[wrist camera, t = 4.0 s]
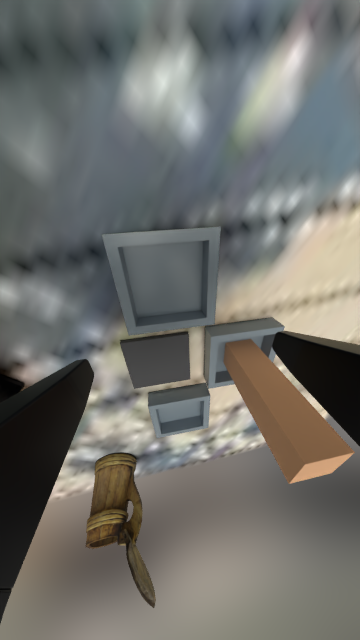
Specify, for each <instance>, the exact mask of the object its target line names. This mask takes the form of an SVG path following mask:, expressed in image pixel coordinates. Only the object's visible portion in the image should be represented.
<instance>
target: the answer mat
mask: <svg viewBox="0 0 360 640" xmlns="http://www.w3.org/2000/svg"><path fill="white" fill-rule="evenodd" d="M120 345H121V348H122V351H123V354H124V358H125V361H126V364H127V367H128V370H129V374H130V377H131V380H132V383H133V386H134V389H135V388H141V387H147V386H153V385H159V384H165V383H171V382H176V381H182V380H188V379H190V360H189V334H188V332H182V333H174V334H167V335H160V336H152V337H145V338H138V339H130V340H123V341H121V342H120Z"/></svg>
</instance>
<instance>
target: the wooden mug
mask: <svg viewBox="0 0 360 640" xmlns="http://www.w3.org/2000/svg"><path fill="white" fill-rule="evenodd" d="M136 462H137V461H136V459H135V458H134V456H132V455H130V454H126V453H117V454H110V455H107V456H104V457H102V458H101V459H99V460H98V461H97V462H96V465H95V483H94V491H93V498H92V506H91V513H90V518H89V519H88V521H87V531H86V532H87V541H86V547H88V548H92V549H94V548H99V547H103V546H107V545H110V544H113V543H115V542H118V545H126V551H127V553H126V555H127V560H128V564H129V567H130V570H131V573H132V576H133V579H134V581H135V584H136V586H137V588H138V590H139V591H140V593H141V595H142V597H143V598H144V599H145V601H146V602H147V603H148V604H150V605H151V606H152V607H153V608H154V606H155V601H156V599H155V592H154V588H153V584H152V581H151V578H150V576H149V573H148V571H147V568H146V566H145V564H144V562H143V560H142V557H141V555H140V553H139V551H138V549H137V547H136V545H135V544H136V540H137V537H138V534H139V531H140V527H141V522H142V502H141V499H140V495H139V492H138V491H137V488H136V485H135V482H134V471H135V469H136ZM128 501H132V503H133V506H134V509H133V515H132V517H131V519H130V520H129V521H128V522H126V521H127V519H128V513H127V507H128Z"/></svg>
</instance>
